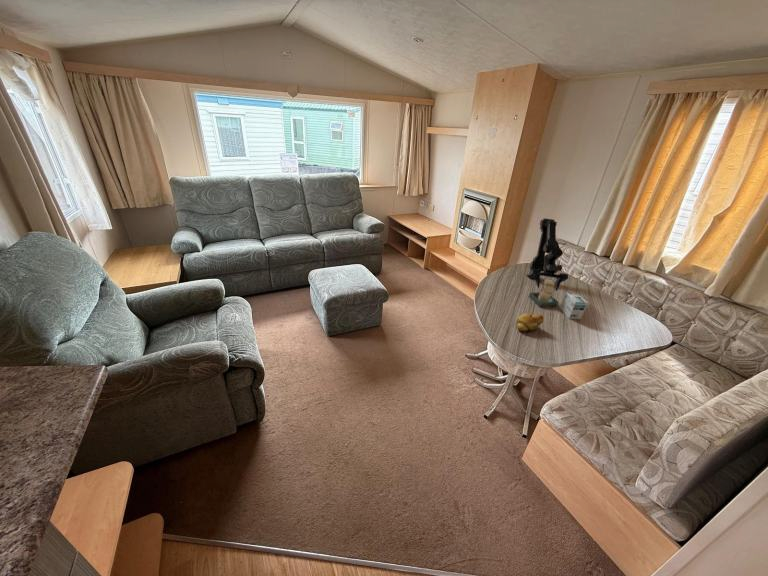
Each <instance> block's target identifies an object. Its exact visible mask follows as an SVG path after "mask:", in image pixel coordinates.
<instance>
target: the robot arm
mask: <svg viewBox="0 0 768 576" xmlns="http://www.w3.org/2000/svg"><path fill="white" fill-rule="evenodd" d="M557 224H558V222H557V221H555V219H552V218H542V219H541V220H540V221H539V229H540V231H541V233H540V235H541V236H540V238H539V242H538V248H537V253H536V255H535V256H534V257H533V258H532V260H531V262H530V263H529V265H528V268H529V270H530V271H529V272H528V273H529V274H526V277H528V278H529V279H531V280H532V281H533V280H534V281H535V284H536V287H537V289H539V288H540V287H541V286H540V284H541V282H540V281H541V277H542V276H544V277H547V278H555V279H556V281H555V286H554V288H555V289H554V291H555V292H557V291H558V288H559V286H560V285H561V284H562V283H563V282H566V281H567V280H568V279H569V274H568V273H562V272H561V271H562V270H563V264H558V265H557V264H556V261H557V260H558V259H559V258H561V257H562V256H563V254H564V252H563V250H562V248H560V246H559V241H557V239H556V238H557V236H556V234H557V233H556V231H557V230H556V229H557V228H556V226H557ZM559 271H560V273H559V274H557V273H558V272H559Z"/></svg>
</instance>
